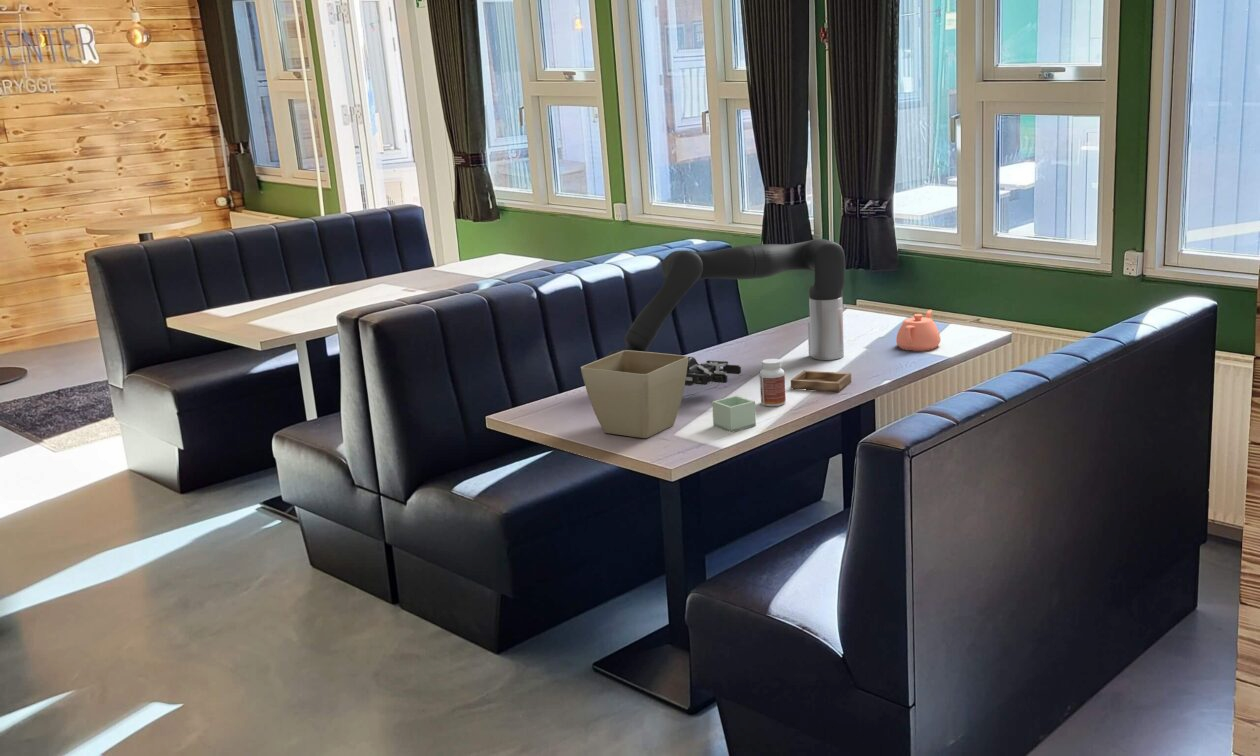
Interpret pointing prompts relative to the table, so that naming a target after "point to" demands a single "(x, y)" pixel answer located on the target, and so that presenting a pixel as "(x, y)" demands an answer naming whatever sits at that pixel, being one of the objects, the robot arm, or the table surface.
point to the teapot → (918, 333)
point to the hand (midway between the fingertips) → (733, 374)
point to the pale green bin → (734, 413)
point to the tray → (821, 381)
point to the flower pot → (636, 391)
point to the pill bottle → (772, 383)
